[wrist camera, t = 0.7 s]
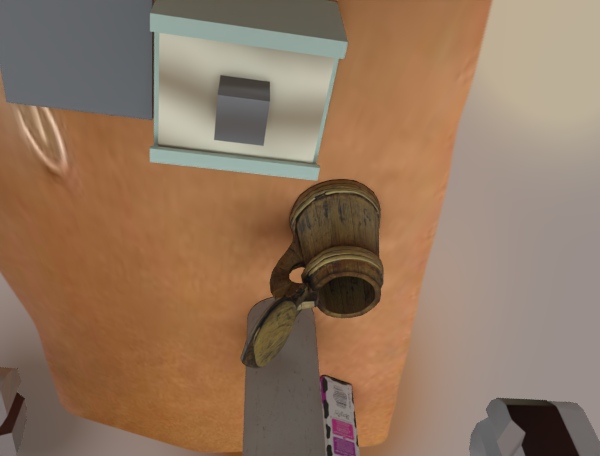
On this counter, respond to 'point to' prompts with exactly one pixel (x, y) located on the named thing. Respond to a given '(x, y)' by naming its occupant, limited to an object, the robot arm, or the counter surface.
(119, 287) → the counter surface
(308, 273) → the wooden mug
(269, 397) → the thermos bottle
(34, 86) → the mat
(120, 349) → the counter surface
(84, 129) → the counter surface
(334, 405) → the candy bar box
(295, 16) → the box
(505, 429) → the robot arm
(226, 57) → the cover lid
